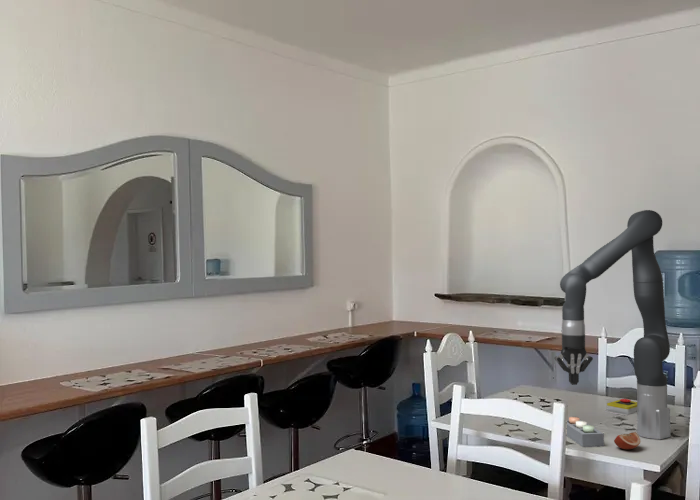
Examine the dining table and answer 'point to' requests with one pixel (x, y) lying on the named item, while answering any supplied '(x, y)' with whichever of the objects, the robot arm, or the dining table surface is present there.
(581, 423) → the cream button
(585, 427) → the sage button
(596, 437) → the console
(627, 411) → the emergency button
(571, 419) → the terracotta button
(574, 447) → the dining table surface
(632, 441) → the fruit slice
